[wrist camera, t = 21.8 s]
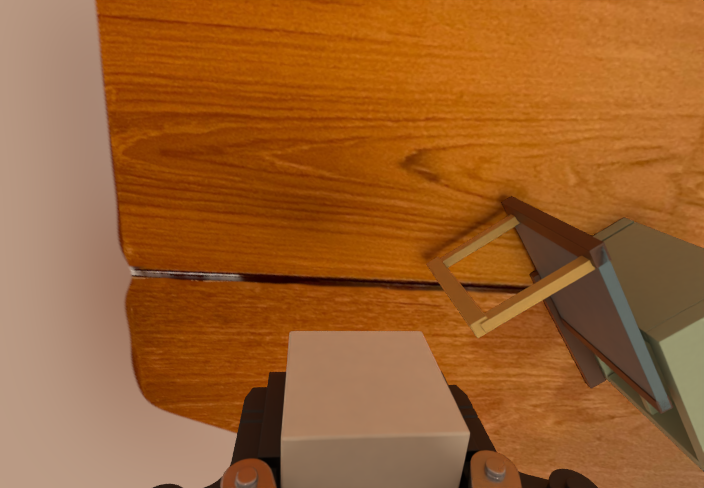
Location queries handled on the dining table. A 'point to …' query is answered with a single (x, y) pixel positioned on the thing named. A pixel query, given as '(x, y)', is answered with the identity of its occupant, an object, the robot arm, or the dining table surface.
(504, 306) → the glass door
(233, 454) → the robot arm
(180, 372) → the dining table surface
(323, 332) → the block
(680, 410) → the cabinet
